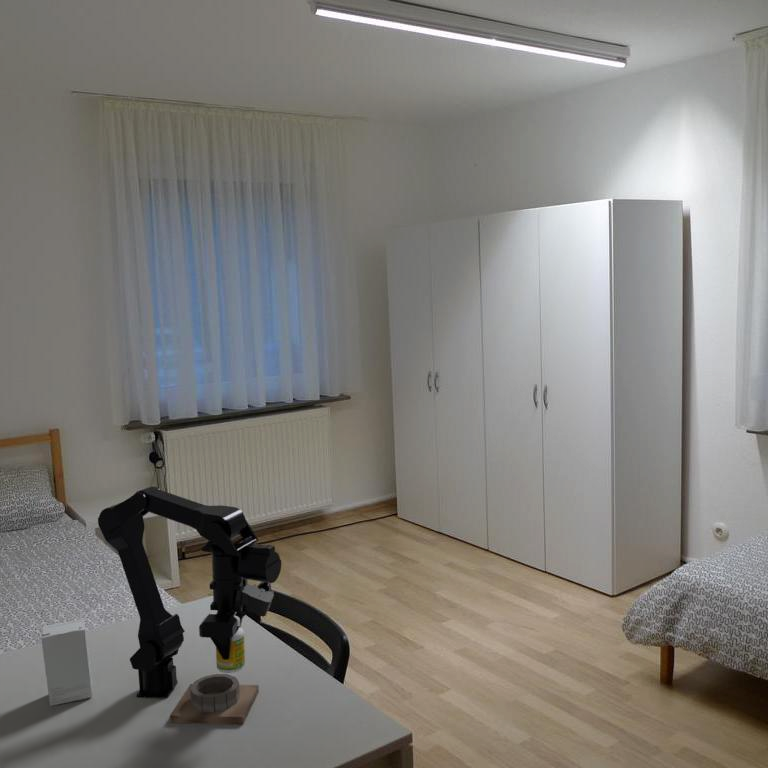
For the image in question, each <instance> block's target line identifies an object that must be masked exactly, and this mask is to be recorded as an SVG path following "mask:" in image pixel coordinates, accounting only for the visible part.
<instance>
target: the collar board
mask: <svg viewBox="0 0 768 768" xmlns="http://www.w3.org/2000/svg"><path fill="white" fill-rule="evenodd" d="M259 690H260V689H259V685H258V684H240V682H239V680H238V678H237V677H236V676H233V675H230V674H229V673H216V674H210V675H205V676H202V677H200V678H199V679H196V680H194V681H193V683H190V684H189V686H188V688H187V689H186V690H185V692H184V693H183V695H182V696H181V698H180V699H179V701H178V703H177V704H176V705H175V707H174V708H173V710H172V711H171V712H170V714H169V722H170V724H193V725H194V724H200V725H207V724H208V725H240V726H241V725H243V726H244V725H245V722H246V720H247V717H248V715H249V713H250V711H251V710H252V707H253V705H254V703H255V701H256V698H257V697H258V694H259V692H260V691H259Z"/></svg>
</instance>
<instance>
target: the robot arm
mask: <svg viewBox="0 0 768 768" xmlns="http://www.w3.org/2000/svg"><path fill="white" fill-rule="evenodd" d="M149 513H151V514H154V515H155V516H156V515H157V516H159V517H162V518H165V519H167V520H169V521H173V522H176V523H179V524H182V525H185V526H188V527H190V528H193V529H194V530H196V532H198V534H199V536H200V537H201V538H203V539H205V540H206V541H207V543H206V544H204V545H203V546H202V547H201V551H202V552H205V553H210V554H211V572H212V574H211V575H212V580H211V582H210V583H209V590H212V598H213V599H212V602H211V603H210V609H209V610H210V611H216V613H215V614H214V613H209V614H207V615H206V616H205V617H204V619H203V620H202V622H201V623H200V625H199V626H198V631H199V632H198V633H199V634H198V636H199V637H200V638H209V639H210V640H211V641H212V643H213V644H214V646H215V649H216V648H217V650H218V651H219V653H220V655H221V656H222V658H223V659H224V660H228V659H229V656H230V650H231V642H232V637H233V636H234V634H236V632H237V631H238V629H239V627H241V628H242V622H243V619H244V617H245V616H247V614H248V613H249V612H250V613H254V614H256V615H257V616H259V617H266V615H267V613H268V611H269V610H270V607H271V605H272V602H273V599H274V596H275V595H274V594H275V593H274V592H275V591H274V590H272V584H274V583H275V582H276V581H277V580H278V578H279V576H280V574H281V570H282V559H281V558H280V555H279V554H280V553H278V552H277V551H276V547H275V545H274V544H273V545H272V544H265V545H264V544H260V543H259V544H257V543H258V542H259V538H258V537H257V534H255V531H254V530H253V529H252V527H251V526H250V524H249V523H248V521H247V519H246V516H245V515H244V511H242V509H240V508H238V507H235V506H230V505H229V506H227V505H223V504H221V505H206V504H202V503H200V502H197V501H193V500H192V499H188V498H185V497H183V496H179V495H176V494H173V493H170V492H168V491H164V490H162V489H160V488H159V487H158V486H152V485H151V486H148V487H145V488H142V489H140V490H138V491H136V492H135V493H134V494H133V495H131V496H130V497H128V498H126V499H125V500H124V501H121V502H119V503H116V504H113V505H111V506H108V507H106V508H104V509H102V510H101V512H100V513H99V516H98V518H97V523H98V524H97V525H98V528H99V529H100V531H101V534H102V536H103V538H104V539H105V541H106V542H107V543H108V544H109V545H110V546H111V547H112V548H114V549H115V550H116V551H117V553H118V556H119V559H120V562H121V565H122V568H123V571H124V573H125V576H126V577H125V578H126V579H127V582H128V583H127V584H128V585H129V589H130V592H131V595H132V598H133V601H134V604H135V607H136V610H137V613H138V616H139V619H140V620H139V626H138V632H137V640H138V643H139V644H138V645H139V648H138V649H137V650H136V652H134V654H133V655H132V656H131V657H130V658H129V661H130V665H131V668H132V669H134V670H137V672H138V673H137V674H138V685H139V688H138V689H139V690H138V691H137V693H136V698H147V699H148V698H154V699H155V698H156V699H158V698H159V699H161V698H162V699H163V698H164V699H166V698H169V696H170V695H171V693H172V692H173V690H174V689H175V688H176V687H177V684H178V679H177V666H176V665H174V658H173V657H174V656H177V655H178V653H179V649H180V647H182V645H183V642H184V641H185V640H184V639H185V638H184V633H185V629H184V628H183V626H182V624H181V618H180V616H179V615H178V613H175V614H171V613H170V612H169V611H167V609H166V608H165V606H164V603H163V600H162V597H161V594H160V592H159V589H158V585H157V582H156V579H155V576H154V574H153V570H152V567H151V564H150V561H149V558H148V556H147V552H146V550H145V547H144V544H143V539H144V533H145V519H144V516H146V515H147V514H149ZM239 536H240V537H241V538H240V539H238V540H236V541H234V542H233V541H232V540H234V539H237V538H238V537H239ZM248 581H254V582H255V581H256V582H260V583H258V585H257V584H256V583H254V584H253V585H251V584H248ZM234 616H238V617H239V618H240V626H237V619H236V618H235V617H234Z"/></svg>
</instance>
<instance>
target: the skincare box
mask: <svg viewBox="0 0 768 768" xmlns="http://www.w3.org/2000/svg"><path fill="white" fill-rule="evenodd" d="M85 622H86V621H85V618H80V619H75V620H71V621H66V622H60V623H53V624H50V625H48V624H47V625H43V626H42V631H41V632H42V633H41V638H40V640H41V645H42V646H41V647H42V653H43V661H44V662H43V664H44V669H45V670H44V671H45V676H46V683H47V692H48V700H49V706H50V707H52V706H56V705H58V706H59V705H61V704H67V703H72V702H74V701H76V702H77V701H81V700H85V699H90V698H92V697H93V681H92V672H91V671H92V670H91V664H90V654H89V646H88V638H87V637H88V636H87V629H86V623H85Z"/></svg>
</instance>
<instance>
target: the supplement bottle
mask: <svg viewBox="0 0 768 768" xmlns="http://www.w3.org/2000/svg"><path fill="white" fill-rule="evenodd" d="M234 617H235V618H236V619H237V626H240V618H239V617H238V616H234ZM215 652H216V654H215V656H216V657H215V658H216V660H215V661H216V669H217V671H219V672H221V673H223V674H231V673H237V672H240V671H241V670H243V668H245V665H246V659H245V658H246V656H245V653H246V651H245V631H244V629H243V628H242V626H241V627H239V629H238V631H237V632H236V634H234V636H233V637H232V642H231V650H230V656H229V659H228V660H224V659H223V658H222V656H221V655H220V653H219V651H218V650H217V648H216V647H215Z"/></svg>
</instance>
